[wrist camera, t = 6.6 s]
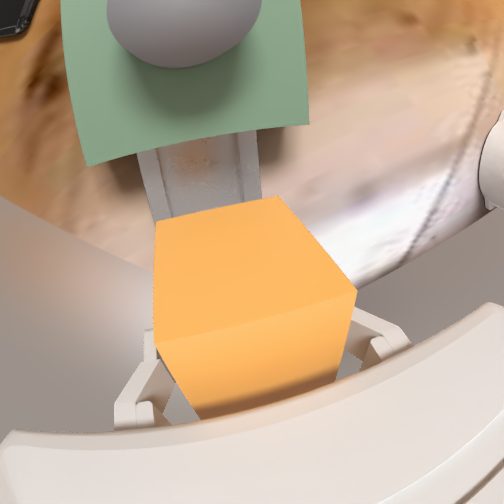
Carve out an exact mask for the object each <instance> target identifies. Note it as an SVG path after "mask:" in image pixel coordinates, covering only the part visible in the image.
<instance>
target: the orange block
mask: <svg viewBox="0 0 504 504" xmlns="http://www.w3.org/2000/svg"><path fill="white" fill-rule="evenodd" d="M356 294H357V290H356V288H355V287H354V286H353V285H352V283H351V282H350V281H349V279H348V278H347V277H346V276H345V274H344V273H343V272H342V271H341V269H340V268H339V267H338V266H337V264H336V263H335V262H334V261H333V260H332V258H331V257H330V256H329V255H328V253H327V252H326V251H325V250H324V249H323V247H322V246H321V245H320V244H319V243H318V241H317V240H316V239H315V238H314V237H313V235H312V234H311V233H310V232H309V231H308V230H307V228H306V227H305V226H304V225H303V224H302V223H301V221H300V220H299V219H298V218H297V217H296V216H295V214H294V213H293V212H292V211H291V210H290V209H289V208H288V206H287V205H286V204H285V203H284V202H283V201H282V200H281V198H280V197H279V196H275V197H270V198H264V199H259V200H254V201H249V202H244V203H239V204H234V205H229V206H224V207H219V208H214V209H210V210H205V211H201V212H196V213H191V214H187V215H183V216H178V217H174V218H170V219H165V220H161V221H157V222H156V231H155V249H154V279H153V321H154V322H153V326H154V345H155V346H156V348H157V350H158V352H159V354H160V355H161V357H162V359H163V361H164V362H165V364H166V366H167V367H168V369H169V371H170V372H171V374H172V376H173V377H174V379H175V381H176V382H177V384H178V386H179V387H180V389H181V390H182V392H183V393H184V395H185V397H186V398H187V400H188V401H189V403H190V404H191V406H192V407H193V409H194V410H195V412H196V413H197V415H198V416H199V418H200V419H201V420H205V419H210V418H215V417H219V416H224V415H228V414H233V413H237V412H241V411H245V410H249V409H253V408H256V407H260V406H264V405H267V404H271V403H274V402H278V401H281V400H284V399H287V398H290V397H294V396H297V395H300V394H303V393H306V392H309V391H311V390H314V389H317V388H320V387H323V386H325V385H328V384H331V383H333V382H335V379H336V375H337V371H338V368H339V365H340V361H341V358H342V354H343V350H344V346H345V343H346V339H347V335H348V331H349V326H350V322H351V318H352V313H353V309H354V304H355V300H356Z"/></svg>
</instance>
